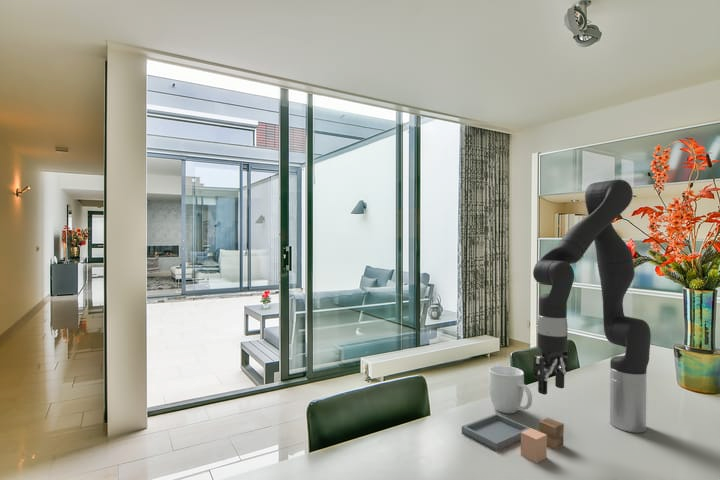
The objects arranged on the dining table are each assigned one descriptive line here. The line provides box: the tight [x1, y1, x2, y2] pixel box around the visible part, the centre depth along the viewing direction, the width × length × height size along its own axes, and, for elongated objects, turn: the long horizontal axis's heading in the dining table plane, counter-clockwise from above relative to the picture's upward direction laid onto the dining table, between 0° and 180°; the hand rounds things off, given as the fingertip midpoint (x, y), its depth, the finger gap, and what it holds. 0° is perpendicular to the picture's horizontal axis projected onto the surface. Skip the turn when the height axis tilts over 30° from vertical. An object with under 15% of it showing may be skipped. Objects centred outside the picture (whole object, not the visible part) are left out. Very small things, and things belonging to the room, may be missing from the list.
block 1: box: [520, 427, 548, 464], centre depth 105 cm, size 4×4×6 cm
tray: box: [461, 413, 531, 452], centre depth 117 cm, size 16×12×2 cm
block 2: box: [538, 417, 565, 451], centre depth 112 cm, size 4×4×6 cm
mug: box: [488, 365, 533, 415], centre depth 133 cm, size 15×11×13 cm
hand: (551, 390), depth 112 cm, fingers open, 8 cm apart
